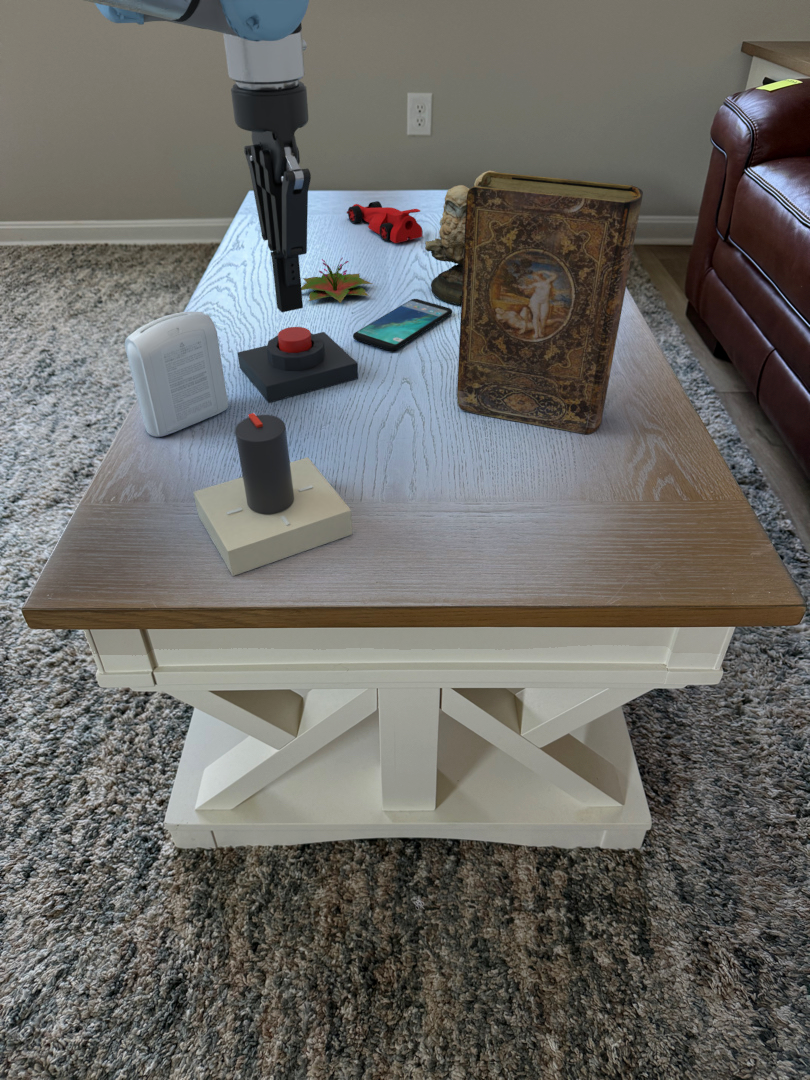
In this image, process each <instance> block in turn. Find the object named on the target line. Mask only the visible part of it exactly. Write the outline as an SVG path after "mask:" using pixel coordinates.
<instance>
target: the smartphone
mask: <svg viewBox="0 0 810 1080" xmlns="http://www.w3.org/2000/svg"><path fill="white" fill-rule="evenodd" d="M452 314H453V309H452V308H450V307H447V306H444V305H440V304H437V303H433V302H429V301H426V300H422V299H418V298H411V299H409V300H408V301H406V302H404V303H403V304H401V305H399V306H397V307H396V308H394V309H392V310H391V311H389V312H387V313H386V314H384V315H382V316H380V317H379V318H377V319H376V320H374V321H372V322H371V323H369V324H367V325H366V326H364V327H362V328H360V329H359V330H357V331H355V332H354V333H352V337H353V340H355V341H358V342H362V343H363V344H368V345H371V346H374V347H376V348H379V349H382V350H386V351H390V352H394V351H396V350H398V349H400V348H401V347H403V346H404V345H405V344H407V343H409V342H410V341H412V340H414V339H415V338H416V337H418V336H420V335H421V334H423V333H424V332H426V331H427V330H429V329H431V328H432V327H434V326H436V325H437V324H438V323H440V322H441V321H443V320H445V319H446V318H448V317H449V316H450V315H452Z"/></svg>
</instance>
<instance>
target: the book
mask: <svg viewBox="0 0 810 1080" xmlns="http://www.w3.org/2000/svg"><path fill="white" fill-rule="evenodd" d="M643 195H644V191H643V190H642V188H639V187H638V186H635V185H633V184H632V185H630V184H622V183H610V182H601V181H590V180H579V179H570V178H559V177H550V176H549V177H548V176H538V175H528V174H518V173H517V174H516V173H507V172H497V171H495V172H487V173H485V174H484V175H483V177H482V181H481V186H474V185H473V186H472V187H470V188H469V191H468V193H467V202H466V220H465V240H464V260H463V281H462V296H461V303H460V308H461V309H460V325H459V344H458V346H459V347H458V367H457V383H456V384H457V387H456V388H457V389H456V398H457V406H458V408H459V409H460V410H461V411H462V412H467V413H471V414H477V415H480V416H484V417H491V418H495V419H500V420H506V421H510V422H516V423H521V424H527V425H534V426H539V427H544V428H548V429H549V428H550V429H554V430H560V431H565V432H566V431H567V432H572V433H575V434H576V433H577V434H582V435H590V434H593V433H595V432H596V431H598V430H599V429H600V427H601V425H602V421H603V415H604V410H605V403H606V399H607V394H608V388H609V383H610V377H611V371H612V365H613V361H614V355H615V349H616V344H617V339H618V333H619V328H620V327H619V326H620V321H621V316H622V311H623V306H624V301H625V296H626V295H625V294H626V288H627V283H628V278H629V272H630V266H631V261H632V257H633V251H634V245H635V239H636V234H637V228H638V223H639V217H640V211H641V207H642V202H643V197H644V196H643Z"/></svg>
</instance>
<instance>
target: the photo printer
mask: <svg viewBox="0 0 810 1080" xmlns="http://www.w3.org/2000/svg"><path fill="white" fill-rule="evenodd" d="M124 346H125V347H124V348H125V353H126V357H127V362H128V364H129V365H128V366H129V370H130V374H131V379H132V383H133V386H134V390H135V391H134V392H135V394H136V398H137V402H138V407H139V411H140V415H141V419H142V423H143V424H144V428H145V431H146V433H147V434H148V435H150V436H152V437H155V438H156V437H157V438H160V437H164V436H169V435H171V434H174V433H176V432H178V431H181V430H182V429H185V428H188V427H190V426H193V425H195V424H198V423H200V422H202V421H204V420H207V419H209V418H212V417H214V416H216V415H218V414H220V413H223V412H225V411H226V410H228V409H229V399H228V392H227V388H226V387H227V386H226V381H225V375H224V369H223V363H222V355H221V348H220V343H219V336H218V331H217V328H216V326H215V323H214V321H213V319H212V318H211V316H210V315H209V314H206V313H204V312H203V311H192V310H191V311H180V312H176V313H170V314H167V315H163V316H161V317H159V318H156V319H154V320H151V321H150V322H147V323H146V324H143V325H142V326H141V327H139V328H137V329H136V330H134V331H133V332H132V333H130V334H129V335H128V336H127V337H126V338H125V340H124Z"/></svg>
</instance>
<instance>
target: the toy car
mask: <svg viewBox="0 0 810 1080" xmlns="http://www.w3.org/2000/svg"><path fill="white" fill-rule="evenodd" d="M420 212H421V209H419V208H412V209H405V210H400V209H397V208H395V207H388V206H387V207H386V206H384V207H383V206H382V203H381V202H380V201H379V200H376V201H371V202H369V203H368V205H367V206H364V205H361V204H359V203H355V204H353V205H352V206H349V207H348V210H347V211H346V214H347V217H348V219H349V221H350V223H351V224H356V223H357V224H358V223H361V222H362V221H365V222H366V223H368V227H367V228H368V229H370V231H372V232H374V233H376V234H378V235H380V238H381V240H382V241H383V242H387V241H391V243H394V244H399V243H403V242H406V241H409V240H415V239H419V238H423V229H422V226H421V225H420V223H418V221H417V219H416V217H414V216H412V215H411V214H413V213H420Z"/></svg>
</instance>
